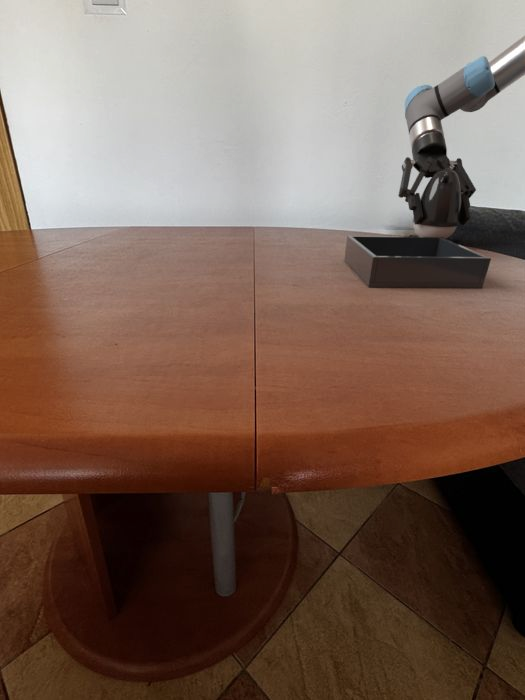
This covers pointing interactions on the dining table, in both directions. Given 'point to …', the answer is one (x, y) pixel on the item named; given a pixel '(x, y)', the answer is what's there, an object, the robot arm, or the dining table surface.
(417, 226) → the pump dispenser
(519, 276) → the dining table surface
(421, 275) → the dark brown tray
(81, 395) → the dining table surface
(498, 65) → the robot arm
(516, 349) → the dining table surface
